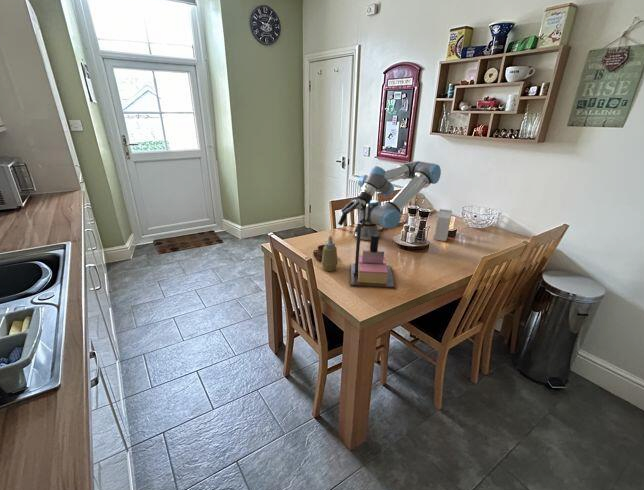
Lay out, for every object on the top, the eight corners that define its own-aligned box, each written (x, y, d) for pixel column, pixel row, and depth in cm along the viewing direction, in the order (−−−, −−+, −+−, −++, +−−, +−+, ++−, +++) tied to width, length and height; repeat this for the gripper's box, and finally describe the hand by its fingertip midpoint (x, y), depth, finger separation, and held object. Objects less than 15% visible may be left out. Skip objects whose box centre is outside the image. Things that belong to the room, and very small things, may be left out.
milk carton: (445, 241, 203) (451, 212, 195) (434, 239, 206) (438, 210, 198) (447, 237, 209) (452, 209, 201) (435, 235, 212) (440, 207, 204)
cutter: (361, 262, 160) (364, 233, 153) (382, 263, 159) (385, 234, 153) (362, 265, 156) (364, 236, 150) (383, 266, 156) (386, 237, 149)
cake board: (350, 265, 171) (353, 215, 160) (389, 267, 169) (395, 217, 158) (350, 286, 151) (354, 231, 140) (394, 288, 149) (401, 233, 138)
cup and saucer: (321, 264, 171) (322, 253, 168) (308, 256, 180) (308, 246, 177) (339, 259, 177) (340, 248, 175) (326, 251, 186) (326, 241, 184)
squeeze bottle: (330, 264, 172) (331, 231, 164) (340, 269, 166) (342, 236, 158) (318, 268, 167) (318, 235, 160) (327, 274, 161) (328, 240, 154)
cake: (357, 265, 168) (358, 255, 166) (383, 267, 167) (384, 256, 165) (358, 282, 152) (359, 270, 150) (386, 283, 151) (388, 272, 149)
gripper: (347, 186, 183) (329, 219, 184) (379, 195, 165) (360, 232, 166) (354, 192, 188) (337, 224, 189) (387, 202, 170) (367, 238, 171)
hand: (347, 228), depth 177 cm, fingers open, 13 cm apart
